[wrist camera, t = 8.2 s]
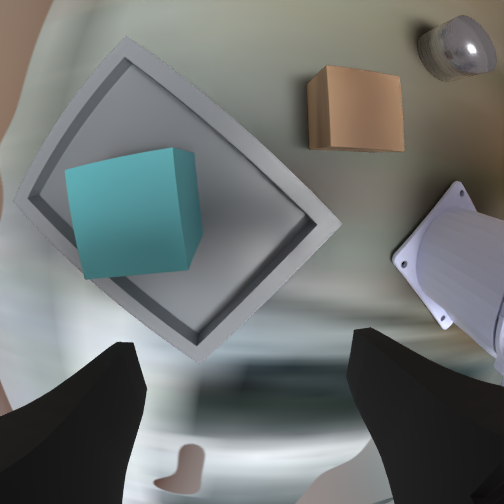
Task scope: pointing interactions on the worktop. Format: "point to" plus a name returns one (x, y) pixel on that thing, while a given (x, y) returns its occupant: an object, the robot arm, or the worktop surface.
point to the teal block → (136, 213)
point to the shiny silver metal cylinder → (457, 50)
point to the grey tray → (209, 189)
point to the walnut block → (355, 111)
